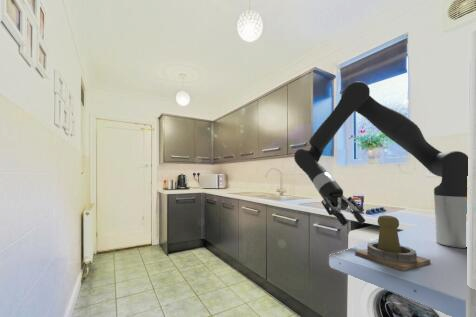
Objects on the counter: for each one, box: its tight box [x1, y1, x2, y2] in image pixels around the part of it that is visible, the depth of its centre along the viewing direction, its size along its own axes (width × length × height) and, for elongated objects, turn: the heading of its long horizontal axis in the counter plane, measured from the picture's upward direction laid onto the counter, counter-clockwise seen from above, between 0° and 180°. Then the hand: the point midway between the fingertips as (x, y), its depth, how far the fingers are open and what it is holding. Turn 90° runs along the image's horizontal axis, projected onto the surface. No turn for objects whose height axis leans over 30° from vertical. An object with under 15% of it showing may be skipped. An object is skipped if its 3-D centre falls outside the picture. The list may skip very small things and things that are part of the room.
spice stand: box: [354, 241, 431, 272], centre depth 65 cm, size 13×13×3 cm
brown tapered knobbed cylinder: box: [377, 214, 401, 253], centre depth 65 cm, size 6×6×11 cm
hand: (354, 223), depth 75 cm, fingers open, 8 cm apart
